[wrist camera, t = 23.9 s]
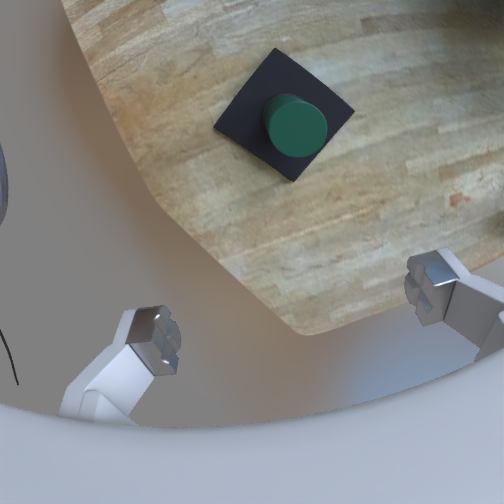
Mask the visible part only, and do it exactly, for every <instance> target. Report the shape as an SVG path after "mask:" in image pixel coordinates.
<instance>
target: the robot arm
mask: <svg viewBox="0 0 504 504" xmlns="http://www.w3.org/2000/svg"><path fill="white" fill-rule="evenodd" d="M407 268H408V270H409V273H408V274H407V275H406V277H405V283H404V286H405V293H406V296H407V299H408V300H409V302H410V303H411V304H412V305H414V306H416V315H417V316H418V318H419V320H420V322H421V324H422V325H423V326H427V325H430V324H433V323H436V322H440V321H443V320H444V322H445V323H446V324H448V325H449V326H450V327H452V328H453V329H455V330H456V331H457V332H459V333H460V334H461V335H463V336H464V337H465V338H467V339H468V340H470V341H471V342H472V343H474V344H475V345H476V346H478V347H479V348H480V350H479V352H478V354H477V356H476V357H475V360H474V362H473V363H472V364H469V365H467V366H465V367H463V368H460V369H458V370H456V371H453V372H451V373H449V374H446V375H444V376H441V377H439V378H436V379H434V380H431V381H429V382H426V383H423V384H421V385H418V386H415V387H412V388H410V389H406V390H403V391H401V392H398V393H394V394H391V395H388V396H385V397H381V398H378V399H374V400H371V401H367V402H363V403H360V404H356V405H352V406H348V407H344V408H340V409H335V410H331V411H326V412H321V413H316V414H312V415H306V416H300V417H294V418H288V419H282V420H274V421H268V422H258V423H250V424H239V425H226V426H211V427H210V426H209V427H143V426H138V425H137V423H136V422H134V421H133V420H132V419H131V418H129V417H128V414H129V413H130V411H131V410H132V409H133V407H134V406H135V404H136V403H137V402H138V400H139V399H140V397H141V396H142V394H143V393H144V391H145V390H146V389H147V387H148V386H149V385H150V383H151V382H152V380H153V379H154V376H162V375H173V374H176V372H177V366H178V359H179V358H178V357H177V355H176V354H175V353H176V352H177V351H178V350H179V349H180V346H181V334H180V330H179V327H178V325H177V323H176V322H175V321H173V320H171V319H170V314H171V313H170V311H169V309H168V308H167V306H164V305H161V306H153V307H145V308H138V309H130V310H126V311H125V312H124V313H123V315H122V318H121V321H120V323H119V326H118V329H117V332H116V334H115V337H114V340H113V343H112V345H110V346H107V347H106V348H105V349H104V350H103V351H102V352H101V353H100V354H99V355H98V356H97V357H96V358H95V359H94V360H93V361H92V362H91V363H90V364H89V365H88V366H87V367H86V368H85V369H84V370H83V371H82V372H81V373H80V374H79V375H78V376H77V377H76V378H75V379H74V380H73V381H72V382H71V383H70V384H69V385H68V386H67V388H66V391H65V394H64V397H63V400H62V403H61V406H60V409H59V412H58V416H51V415H47V414H42V413H38V412H33V411H29V410H25V409H21V408H17V407H14V406H10V405H7V404H3V403H0V504H504V288H503V287H501V286H498V285H496V284H494V283H492V282H490V281H488V280H486V279H484V278H482V277H479V276H477V275H475V274H474V275H471V274H470V273H469V272H468V271H467V269H466V268H465V267H464V266H463V265H462V263H461V262H460V261H459V260H458V259H457V258H456V256H455V255H454V254H453V253H452V252H451V251H450V250H449V249H448V248H446V247H444V248H441V249H437V250H434V251H431V252H427V253H423V254H419V255H415V256H411V257H409V259H408V261H407ZM0 336H1V338H2V340H3V342H4V344H5V347H6V349H7V352H8V355H9V358H10V360H11V364H12V368H13V372H14V376H15V379H16V382H17V385H19V383H18V380H17V377H16V373H15V368H14V364H13V360H12V357H11V354H10V351H9V348H8V346H7V344H6V341H5V339H4V336H3V334H2V332H1V330H0Z"/></svg>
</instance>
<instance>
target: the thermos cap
mask: <svg viewBox="0 0 504 504" xmlns="http://www.w3.org/2000/svg"><path fill="white" fill-rule="evenodd" d="M262 118H263V123H264V126H265V128H266V129H267V131H268V133H269V137H270V140H271V142H272V144H273V145H274V146H275V148H276V149H277V150H279V151H280V152H281V153H283V154H285V155H287V156H290V157H297V158H298V157H306V156H309V155H311V154H313V153H315V152H316V151H317V150H318V149H319V148H320V147H321V146H322V145H323V143H324V141H325V139H326V135H327V123H326V120H325V118H324V116H323V114H322V113H321V112H320V111H319V110H318V109H317V108H316V107H315V106H313V105H311V104H309V103H307V102H305V101H304V100H303V99H302V98H300V97H299V96H297V95H294V94H290V93H283V94H278V95H276V96H274V97H272V98H271V99H270V100H269V101H268V102H267V103H266V105H265V106H264V109H263V113H262Z"/></svg>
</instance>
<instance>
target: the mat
mask: <svg viewBox="0 0 504 504" xmlns="http://www.w3.org/2000/svg"><path fill="white" fill-rule="evenodd" d="M283 93H290V94H294V95H297V96H299V97H300V98H302V99H303V100H304V101H305V102H307V103H309V104H311V105H313V106H315V107H316V108H317V109H318V110H319V111H320V112H321V113H322V114H323V116H324V118H325V120H326V123H327V135H326V139H325V141H324V143H323V145H322V146H321V147H320V148H319V149H318V150H317V151H316V152H315V153H313V154H311V155H309V156H306V157H298V158H297V157H290V156H287V155H285V154H283V153H281V152H280V151H279V150H277V149H276V148H275V146H274V145H273V144H272V142H271V140H270V137H269V133H268V131H267V129H266V128H265V126H264V123H263V118H262V113H263V109H264V106H265V105H266V103H267V102H268V101H269V100H270V99H271V98H272V97H274V96H276V95H278V94H283ZM354 112H355V111H354V110H353V109H352V108H351V107H350V106H349V105H348V104H347V103H345V102H344V101H343V100H342V99H341V98H340V97H339V96H337V95H336V94H335V93H334V92H333V91H332V90H330V89H329V88H328V87H327V86H326V85H324V84H323V83H322V82H321V81H320V80H318V79H317V78H316V77H314V76H313V75H312V74H311V73H309V72H308V71H307V70H305V69H304V68H303V67H302V66H300V65H299V64H298V63H296V62H295V61H293V60H292V59H291V58H289V57H288V56H287V55H285V54H284V53H282V52H281V51H279V50H278V49H277V48H274V49H273V51H272V52H271V53H270V54H269V55H268V57H267V58H266V59H265V60H264V61H263V63H262V64H261V65H260V66H259V67H258V69H257V70H256V71H255V72H254V74H253V75H252V76H251V77H250V79H249V80H248V81H247V82H246V84H245V85H244V86H243V88H242V89H241V90H240V91H239V93H238V94H237V95H236V97H235V98H234V99H233V101H232V102H231V103H230V105H229V106H228V107H227V109H226V110H225V111H224V113H223V114H222V116H221V117H220V118H219V120H218V121H217V123H216V124H215V125H214V128H215V129H217V130H218V131H220V132H222V133H223V134H225V135H226V136H228V137H229V138H231V139H232V140H234V141H235V142H237V143H238V144H240V145H241V146H243V147H244V148H246V149H247V150H249V151H250V152H252V153H253V154H255V155H256V156H257V157H259V158H260V159H262V160H263V161H265V162H266V163H268V164H269V165H270V166H272V167H273V168H275V169H276V170H277V171H279V172H280V173H282V174H283V175H284V176H286V177H287V178H289V179H290V180H291V181H293V182H294V181H295V180H296V179H297V178H298V177H299V175H300V174H301V173H302V172H303V171H304V170H305V168H306V167H307V166H308V165H309V164H310V163H311V161H312V160H313V159H314V158H315V157H316V156H317V154H318V153H319V152H320V151H321V150H322V149H323V147H324V146H325V145H326V144H327V143H328V142H329V141H330V139H331V138H332V137H333V136H334V135H335V134H336V132H337V131H338V130H339V129H340V128H341V127H342V126H343V124H344V123H345V122H346V121H347V120H348V119H349V118H350V116H351V115H352V114H353V113H354Z"/></svg>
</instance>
